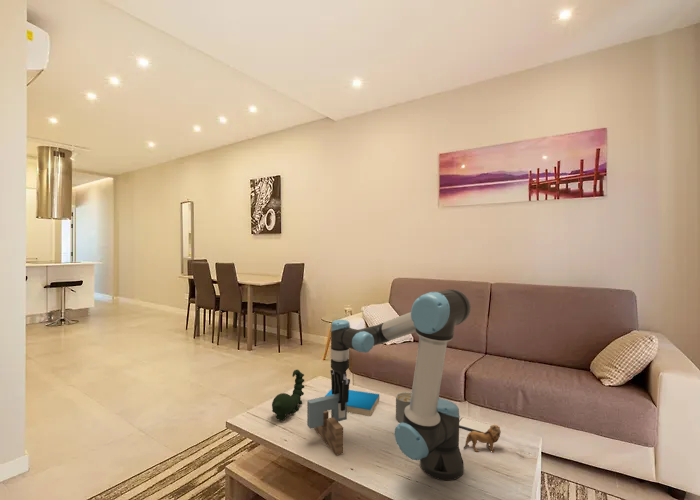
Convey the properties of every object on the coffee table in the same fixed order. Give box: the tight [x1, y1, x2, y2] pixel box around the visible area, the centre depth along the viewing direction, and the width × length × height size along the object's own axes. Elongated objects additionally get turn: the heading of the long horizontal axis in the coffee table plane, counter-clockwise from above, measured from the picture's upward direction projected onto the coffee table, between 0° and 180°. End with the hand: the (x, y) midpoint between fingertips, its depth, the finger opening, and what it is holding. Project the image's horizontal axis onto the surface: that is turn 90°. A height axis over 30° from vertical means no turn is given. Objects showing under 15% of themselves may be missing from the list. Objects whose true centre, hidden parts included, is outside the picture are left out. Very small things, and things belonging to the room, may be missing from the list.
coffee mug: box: [395, 391, 412, 423], centre depth 161 cm, size 13×10×10 cm
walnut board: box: [313, 410, 344, 456], centre depth 143 cm, size 22×3×10 cm, turn 28°
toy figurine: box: [271, 369, 306, 422], centre depth 164 cm, size 9×19×25 cm
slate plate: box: [306, 393, 348, 430], centre depth 142 cm, size 16×3×10 cm, turn 118°
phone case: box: [459, 417, 492, 433], centre depth 152 cm, size 9×2×16 cm
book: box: [324, 388, 380, 417], centre depth 174 cm, size 17×4×25 cm
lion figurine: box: [463, 424, 502, 453], centre depth 137 cm, size 15×5×9 cm, turn 96°
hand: (339, 415), depth 145 cm, fingers closed on slate plate, 3 cm apart
